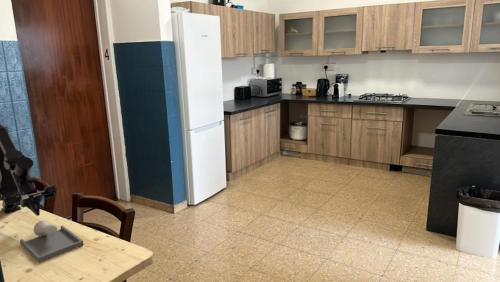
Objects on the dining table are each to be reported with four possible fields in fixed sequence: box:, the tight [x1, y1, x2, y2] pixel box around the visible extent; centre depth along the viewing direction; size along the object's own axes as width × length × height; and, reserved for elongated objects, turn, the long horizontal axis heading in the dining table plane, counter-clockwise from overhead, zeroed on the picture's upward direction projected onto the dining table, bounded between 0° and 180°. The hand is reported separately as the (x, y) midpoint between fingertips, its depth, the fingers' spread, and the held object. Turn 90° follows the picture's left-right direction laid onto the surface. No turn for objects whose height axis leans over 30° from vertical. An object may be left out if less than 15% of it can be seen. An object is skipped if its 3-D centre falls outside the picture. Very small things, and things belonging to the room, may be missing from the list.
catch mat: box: [19, 225, 84, 264], centre depth 139 cm, size 19×16×2 cm
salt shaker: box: [33, 220, 59, 237], centre depth 141 cm, size 6×6×13 cm
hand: (38, 215), depth 143 cm, fingers closed
